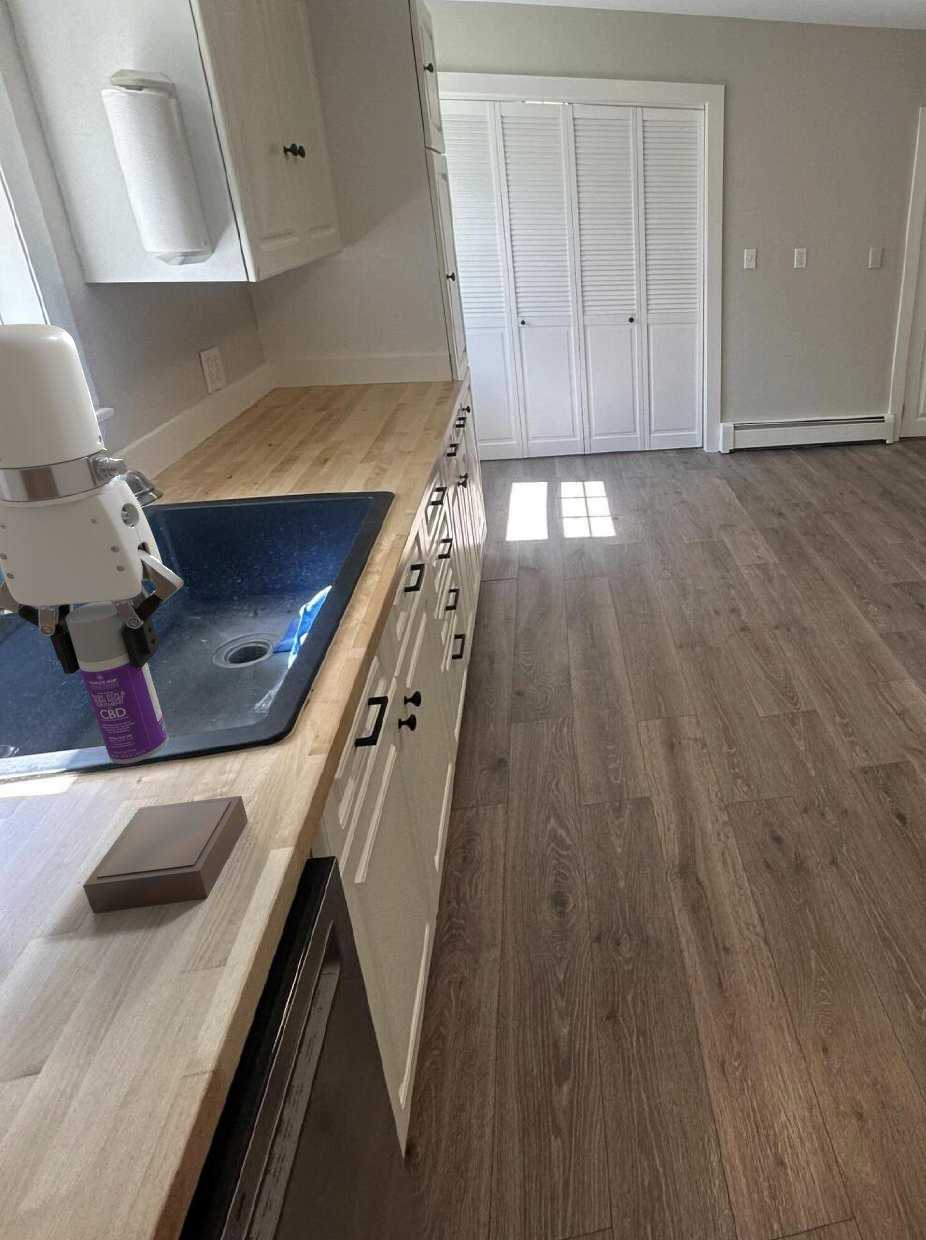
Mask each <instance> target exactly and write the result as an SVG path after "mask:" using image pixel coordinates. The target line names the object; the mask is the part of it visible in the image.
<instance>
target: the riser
mask: <svg viewBox="0 0 926 1240" xmlns="http://www.w3.org/2000/svg"><path fill="white" fill-rule="evenodd" d="M248 821H249V819H248V816H247V812H246V807H245V803H244V801H243V797H242V795H236V796H227V797H219V798H209V799H201V800H193V801H183V802H175V803H166V804H165V803H164V804H157V805H149V806H140V807H139V808H138V809H137V811H136V812H135V813H134V814H133V816H132V817H131V819H130V820H129V821H128V823H127V824H126V825H125V826H124V828H123V829H122V831H121V832H120V834H119V835H118V837H117V838H116V839H115V841H114V842H113V843H112V845H111V846H110V847H109V849H108V851H107V852H106V853H105V855H104V856H103V857H102V859H101V860H100V861H99V863H98V864H97V866H96V867H95V869H94V870H93V871H92V873H91V874H90V875H89V877H88V878H87V880H86V881H85V882H84V884H83V885H82V888H83V891H84V894H85V896H86V899H87V901H88V904H89V906H90V910H91V912H92V914H100V913H105V912H106V913H107V912H114V911H122V910H129V909H135V908H144V907H152V906H158V905H166V904H173V903H180V902H181V903H182V902H188V901H194V900H195V901H196V900H203V899H208V898H209V896H210V894H211V892H212V890H213V888H214V886H215V884H216V882H217V881H218V879H219V877H220V875H221V873H222V872H223V869H224V867H225V866H226V863H227V862H228V859H229V858H230V856H231V854H232V852H233V850H234V848H235V846H236V844H237V842H238V840H239V839H240V837H241V835H242V833H243V831H244V829H245V827H246V826H247V824H248Z"/></svg>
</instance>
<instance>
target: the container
mask: <svg viewBox="0 0 926 1240" xmlns="http://www.w3.org/2000/svg"><path fill="white" fill-rule="evenodd" d="M66 622H67V626H68V629H69V633H70V636H71V639H72V643H73V646H74V650H75V653H76V657H77V660H78V664H79V668H80V669H79V671H80V674H81V677H82V680H83V683H84V686H85V688H86V692H87V694H88V697H89V701H90V704H91V707H92V710H93V713H94V716H95V719H96V722H97V724H98V728H99V731H100V734H101V736H102V737H101V738H102V740H103V743H104V746H105V749H106V752H107V755H108V758H109V760H110V761H111V762H112V763H114V764H119V765H128V764H133V763H136V762H137V763H138V762H140V761H143V760H146V759H148V758H150V757H153V756H154V755H156V754H157V753H159V752H160V751H161V750H163V748H165V747H166V745H167V744H168V742H169V739H170V737H169V733H168V729H167V726H166V722H165V719H164V716H163V713H162V709H161V706H160V701H159V698H158V695H157V692H156V691H157V690H156V688H155V685H154V682H153V678H152V675H151V671H150V668H149V665H148V664H149V663H148V662H147V663H146V664H145V665H144V666H143V667H141V668H134V667H132V666H131V663H130V659H129V656H128V653H127V650H126V646H125V643H124V640H123V636H122V631H123V630H124V629H125V628H126V627H127V625H126V623H125V622H124V620H123V619H122V617H121V616H120V614H119V613H118V611H117V610H116V608H115V607H114V605H113V604H112V602H111V601H105V602H92V603H85V604H84V605H81V606H79V607H76V608H75V609H74V610H73V611H71V612H70V613H69V614H68V615H67V616H66Z"/></svg>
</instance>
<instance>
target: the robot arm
mask: <svg viewBox="0 0 926 1240" xmlns="http://www.w3.org/2000/svg"><path fill="white" fill-rule="evenodd" d="M86 380H87V379H86V376H85V373H84V369H83V365H82V363H81V359H80V355H79V352H78V348H77V346H76V343H75V341H74V338H73V336H71V334H70V333H69V332H67V331H66V330H65V329H64V328H61V327H59V326H57V325H53V324H46V323H11V324H0V569H1V572H2V575H3V577H4V579H3V580H2V582H1V584H0V608H2V609H4V610H7V611H9V612H10V613H13V614H17V615H18V616H19V617H20V618H21V619H23V620H25V621H27V622H29V623H30V624H32V625H34V626H36V627H38V632H39V633H40V634H41V635H43V636H44V637H45V636H46V637H49V638H50V642H51V644H52V646H53V649H54V652H55V655H56V658H57V660H58V662H60V665H61V668H62V670H63V673H64V674H65V675H72V674H75V673H76V672H77V671H80V668H79V664H78V660H77V657H76V653H75V650H74V646H73V643H72V639H71V636H70V633H69V629H68V626H67V622H66V616H67V615H68V614H69V613H70V612H71V611H73V610H75V609H74V608H75V606H74V605H75V604H76V605H79V604H89V603H92V602H105V601H111V602H112V604H113V605H114V607H115V608H116V610H117V611H118V613H119V614H120V616H121V617H122V619H123V620H124V622H125V623H126V625H127V627H126V628H125V629H124V630H123V631H122V636H123V640H124V643H125V646H126V650H127V653H128V656H129V659H130V663H131V666H132V667H134V668H141V667H143V666H144V665H145V664H146V663H147V664H148V662H149V661H150V659H151V658H153V656H155V654H156V653H157V652H158V649H159V646H160V643H159V638H158V634H157V630H156V628H155V625H154V621H153V617H152V616H153V615H154V614H155V613H156V612H157V611H158V609H160V607H161V606H162V605H163V603H165V602H166V601H168V599H169V598H171V597H172V596H173V595H174V594H175V593H177V592H178V591H179V590H180V589H181V588H182V587H183V586H184V580H183V579H182V578H181V577H180V576H179V575H177V574H176V573H175V572H173V571H172V570H170V569H169V568H168V567H167V566H165V565H164V564H163V561H162V558H161V554H160V551H159V547H158V545H157V542H156V539H155V537H154V534H153V532H152V529H151V526H150V524H149V522H148V519H147V517H146V515H145V513H144V511H143V508H142V507H141V505H140V502H139V501H138V499H137V497H136V495H135V494H134V492H133V491H132V489H131V487H130V486H129V484H128V483H127V481H126V480H124V479H123V480H121V479H116V480H115V478H116V476H123V475H125V474H126V471H127V463H126V462H125V461H124V459H121V458H120V459H115V458H112V457H110V453H109V450H108V449H106V447H105V443H104V440H103V436H102V432H101V429H100V425H99V422H98V418H97V415H96V411H95V408H94V404H93V401H92V397H91V394H90V390H89V387H88V383H87V381H86ZM146 581H148V582H150V583H151V584H152V585H153V586H154V587H155V590H153V592H152V593H150V594H149V593H148V592H147V590H146V589H145V587H144V585H143V584H142V582H146Z"/></svg>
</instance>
